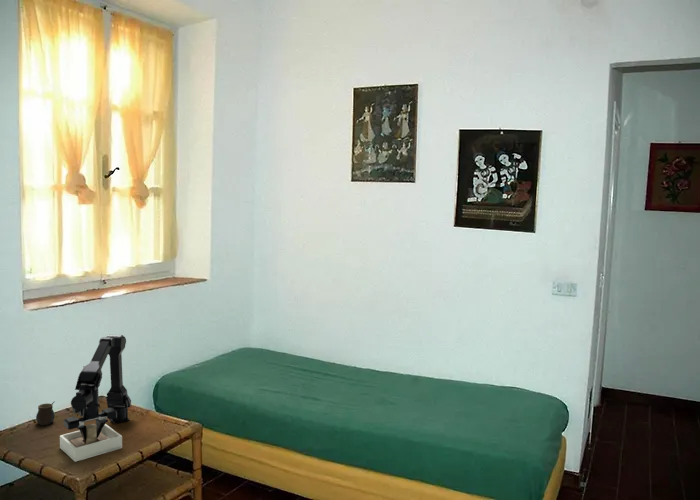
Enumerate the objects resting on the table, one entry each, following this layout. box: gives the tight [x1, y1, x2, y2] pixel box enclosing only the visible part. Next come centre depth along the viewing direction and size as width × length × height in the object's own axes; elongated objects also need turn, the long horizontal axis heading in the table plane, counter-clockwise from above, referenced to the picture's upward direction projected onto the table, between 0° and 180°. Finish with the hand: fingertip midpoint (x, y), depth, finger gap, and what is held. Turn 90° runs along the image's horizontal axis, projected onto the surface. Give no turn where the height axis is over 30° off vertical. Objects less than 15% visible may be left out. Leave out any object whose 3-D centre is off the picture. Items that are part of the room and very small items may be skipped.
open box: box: [59, 423, 123, 462], centre depth 229 cm, size 18×16×5 cm
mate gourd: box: [35, 401, 56, 426], centre depth 251 cm, size 7×8×10 cm
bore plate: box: [70, 432, 109, 448], centre depth 229 cm, size 12×12×2 cm
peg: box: [85, 423, 97, 444], centre depth 229 cm, size 4×4×8 cm
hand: (91, 439), depth 229 cm, fingers open, 4 cm apart
